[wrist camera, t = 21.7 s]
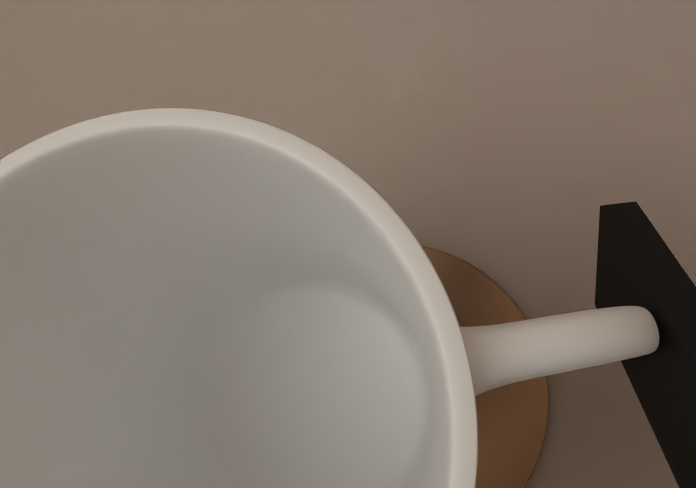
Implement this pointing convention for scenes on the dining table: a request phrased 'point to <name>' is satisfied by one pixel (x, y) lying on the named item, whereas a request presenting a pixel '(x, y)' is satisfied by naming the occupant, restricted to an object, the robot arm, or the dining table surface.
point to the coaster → (502, 402)
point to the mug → (241, 319)
